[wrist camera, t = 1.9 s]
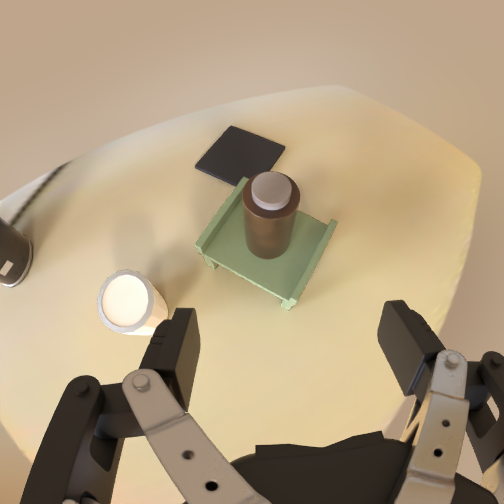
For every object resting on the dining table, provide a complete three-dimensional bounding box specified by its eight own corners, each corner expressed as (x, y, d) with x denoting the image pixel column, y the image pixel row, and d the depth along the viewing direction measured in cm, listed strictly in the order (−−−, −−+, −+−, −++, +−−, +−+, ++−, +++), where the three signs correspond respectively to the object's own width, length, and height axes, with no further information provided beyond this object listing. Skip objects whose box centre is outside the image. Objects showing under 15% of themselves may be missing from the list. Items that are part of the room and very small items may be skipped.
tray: (204, 265, 36) (194, 244, 30) (245, 205, 39) (243, 176, 33) (289, 313, 34) (297, 301, 28) (325, 245, 37) (338, 222, 31)
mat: (195, 168, 42) (194, 165, 41) (230, 127, 45) (230, 125, 44) (252, 194, 40) (252, 192, 39) (285, 148, 43) (285, 146, 42)
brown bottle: (237, 246, 32) (229, 196, 22) (259, 212, 33) (260, 155, 24) (276, 267, 31) (284, 223, 21) (297, 231, 32) (311, 178, 23)
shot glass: (150, 275, 36) (129, 256, 29) (184, 314, 34) (167, 302, 27) (113, 310, 34) (86, 298, 27) (145, 351, 32) (120, 347, 26)
